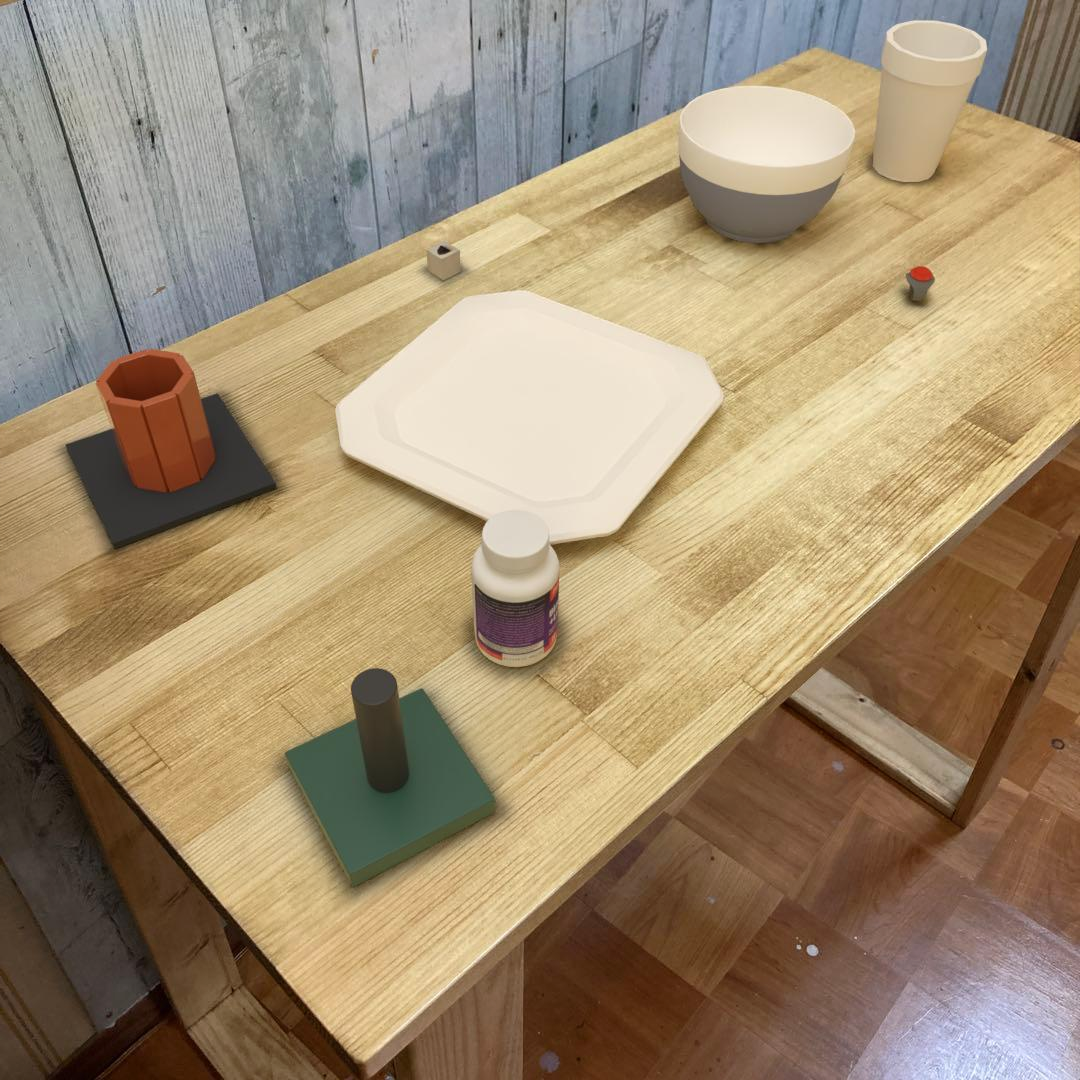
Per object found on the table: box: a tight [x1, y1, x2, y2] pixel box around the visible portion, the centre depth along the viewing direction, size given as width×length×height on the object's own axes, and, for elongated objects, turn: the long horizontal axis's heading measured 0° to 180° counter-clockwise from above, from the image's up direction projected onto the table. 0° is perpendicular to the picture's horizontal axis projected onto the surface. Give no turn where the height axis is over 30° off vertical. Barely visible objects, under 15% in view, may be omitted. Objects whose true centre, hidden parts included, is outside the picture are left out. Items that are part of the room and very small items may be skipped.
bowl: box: [677, 85, 856, 244], centre depth 106 cm, size 16×16×10 cm
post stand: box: [284, 667, 496, 888], centre depth 62 cm, size 9×9×10 cm
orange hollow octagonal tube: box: [95, 348, 216, 493], centre depth 81 cm, size 6×6×8 cm
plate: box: [334, 289, 725, 546], centre depth 88 cm, size 25×25×2 cm
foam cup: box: [872, 20, 988, 183], centre depth 112 cm, size 10×9×13 cm
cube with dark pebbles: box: [426, 240, 462, 281], centre depth 102 cm, size 2×2×2 cm
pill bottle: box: [470, 510, 561, 668], centre depth 70 cm, size 5×5×10 cm
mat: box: [65, 393, 277, 550], centre depth 84 cm, size 12×12×1 cm
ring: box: [905, 265, 936, 302], centre depth 100 cm, size 2×3×3 cm
